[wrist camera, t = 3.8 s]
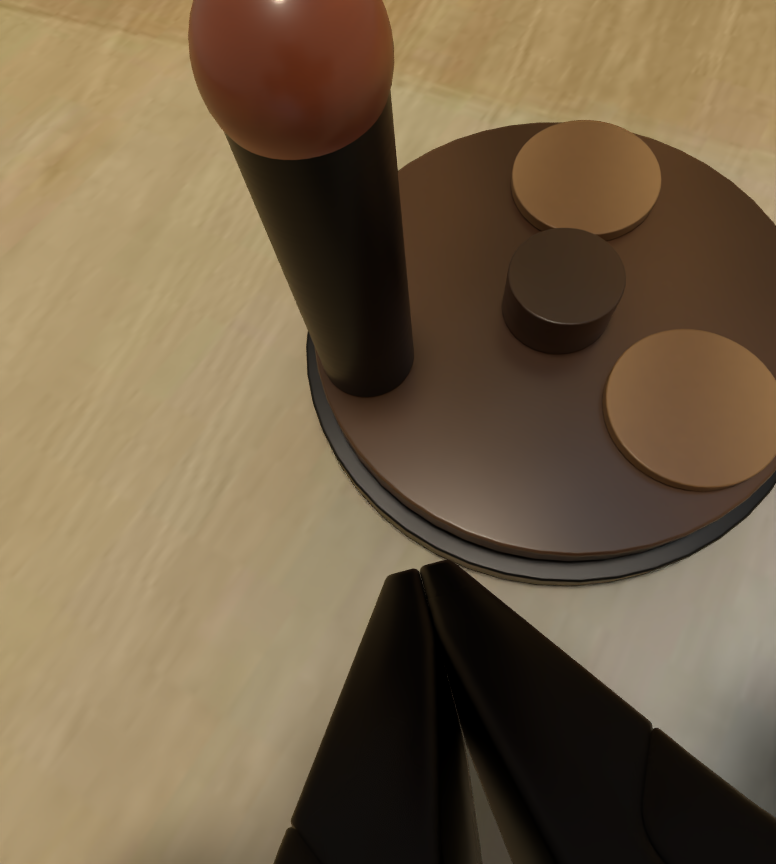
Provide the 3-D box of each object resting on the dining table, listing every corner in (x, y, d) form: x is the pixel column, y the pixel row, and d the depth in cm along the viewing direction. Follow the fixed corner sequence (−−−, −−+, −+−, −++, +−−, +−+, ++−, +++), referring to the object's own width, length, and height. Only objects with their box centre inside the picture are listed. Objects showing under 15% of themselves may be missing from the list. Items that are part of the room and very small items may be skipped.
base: (901, 365, 18) (927, 350, 17) (533, 706, 15) (540, 710, 14) (547, 99, 22) (552, 75, 21) (226, 328, 20) (215, 313, 19)
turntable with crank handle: (677, 103, 20) (950, -516, 9) (900, 484, 15) (2010, 103, 4) (283, 204, 20) (102, -301, 9) (377, 621, 15) (224, 568, 4)
